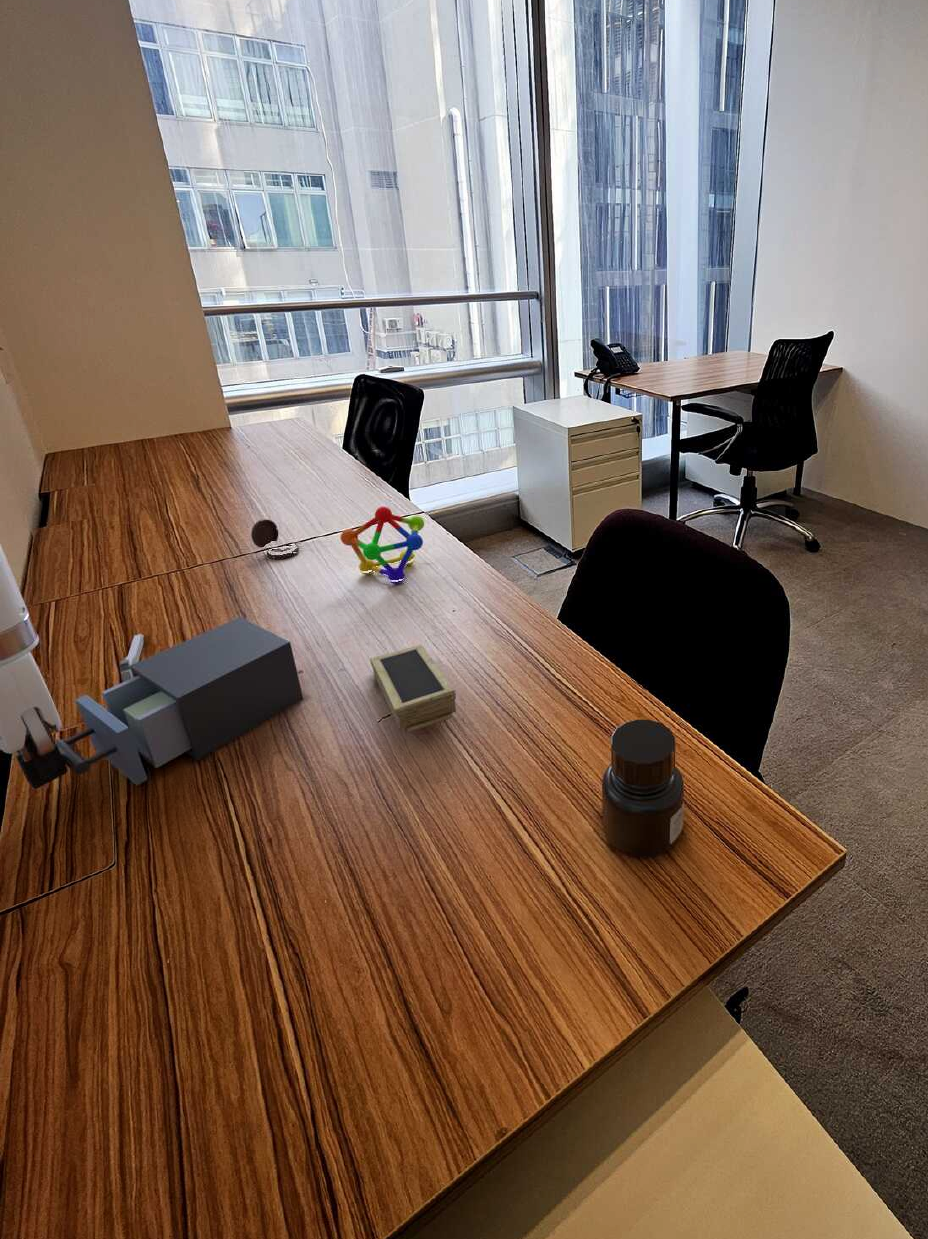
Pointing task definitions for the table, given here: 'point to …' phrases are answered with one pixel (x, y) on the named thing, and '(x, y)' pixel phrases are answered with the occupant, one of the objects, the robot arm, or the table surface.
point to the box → (414, 688)
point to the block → (143, 712)
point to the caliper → (131, 657)
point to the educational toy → (374, 551)
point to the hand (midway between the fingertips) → (48, 777)
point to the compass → (269, 537)
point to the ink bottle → (642, 790)
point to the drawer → (127, 732)
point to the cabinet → (225, 681)
